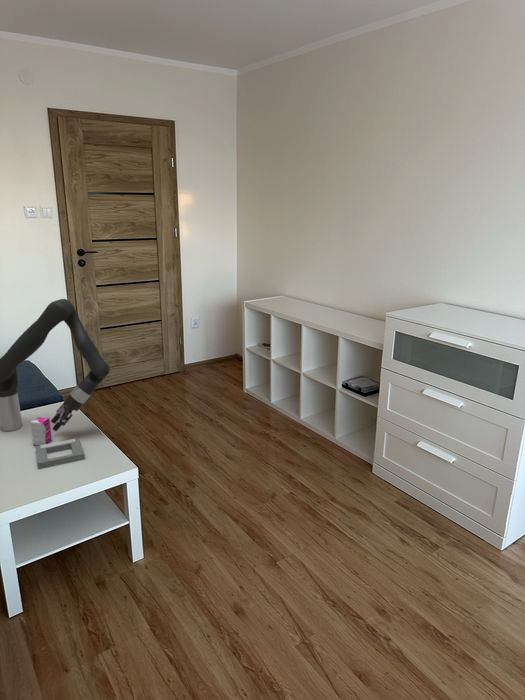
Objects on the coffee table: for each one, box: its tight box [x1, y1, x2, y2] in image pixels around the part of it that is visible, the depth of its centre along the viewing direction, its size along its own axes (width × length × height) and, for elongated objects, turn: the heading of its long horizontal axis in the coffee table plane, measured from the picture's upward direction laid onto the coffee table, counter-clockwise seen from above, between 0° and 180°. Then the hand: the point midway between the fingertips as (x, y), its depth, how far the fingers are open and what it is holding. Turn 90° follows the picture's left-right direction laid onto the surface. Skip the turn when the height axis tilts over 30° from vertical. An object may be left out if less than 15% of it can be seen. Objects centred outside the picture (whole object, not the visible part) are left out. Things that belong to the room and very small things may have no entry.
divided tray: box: [34, 437, 86, 470], centre depth 211 cm, size 16×18×3 cm
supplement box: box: [30, 416, 53, 447], centre depth 220 cm, size 6×6×12 cm
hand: (53, 426), depth 222 cm, fingers open, 8 cm apart
